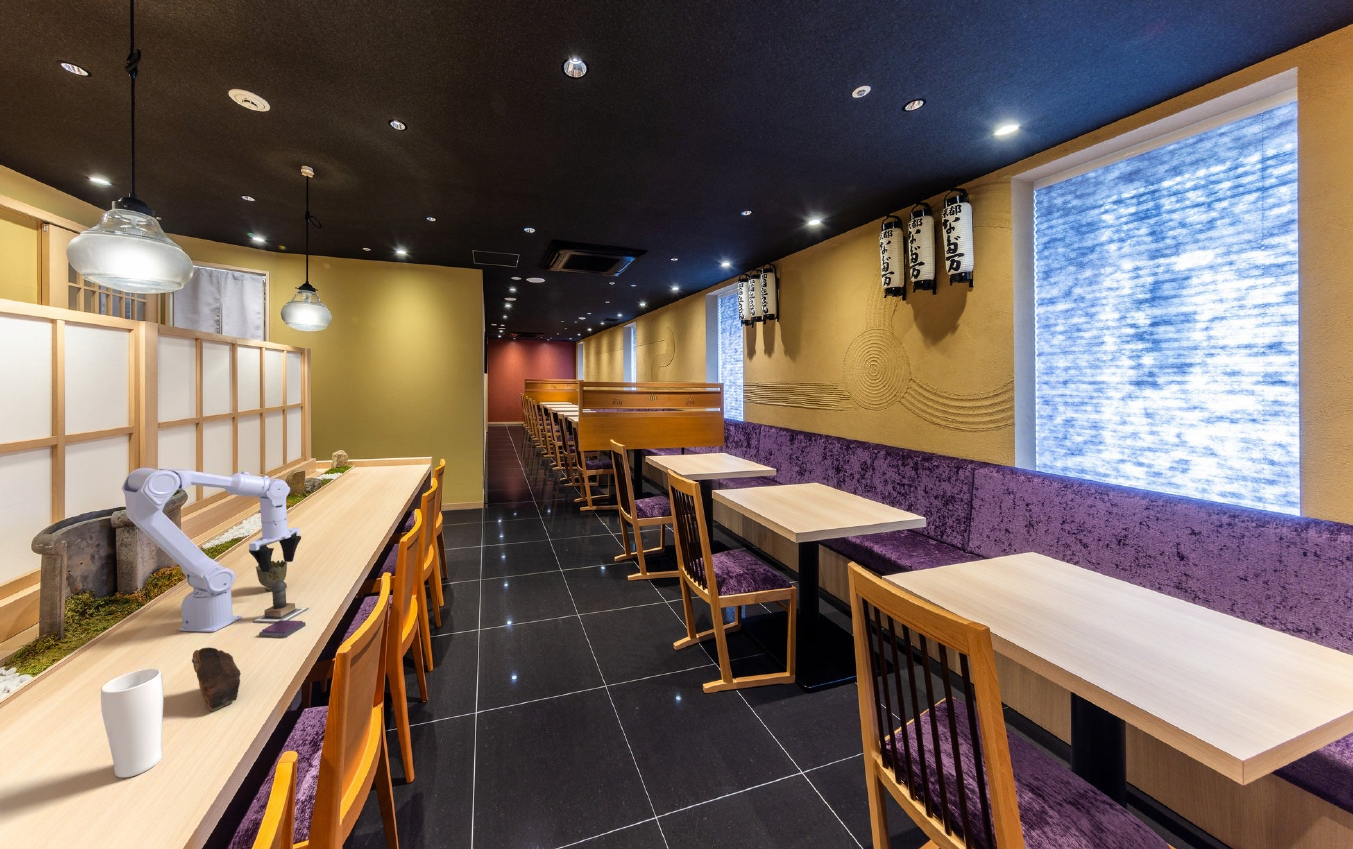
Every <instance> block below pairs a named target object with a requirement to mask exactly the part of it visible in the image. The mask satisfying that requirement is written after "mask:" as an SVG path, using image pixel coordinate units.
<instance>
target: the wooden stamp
mask: <svg viewBox="0 0 1353 849" xmlns="http://www.w3.org/2000/svg"><path fill="white" fill-rule="evenodd" d="M286 589H287V583H286V581H285V580H284V581H277V582H275V583H273V584H272V586H271V591H270V592H271V593H272V594H271V595H272V606H269V607H268V608H266V609H264V615H265V618H271V619H282V618H284V617H286V616H287V615H289V614H291V613H293V612H295V611H296V610H295V607H296V603H294V602H291V603H290V602H287V594H286V593H287V590H286Z"/></svg>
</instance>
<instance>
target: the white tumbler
mask: <svg viewBox="0 0 1353 849" xmlns="http://www.w3.org/2000/svg"><path fill="white" fill-rule="evenodd" d="M163 681H164V680H163V675H162V670H160V669H159V668H143V669H139V670H134V671H131V672H128V673H125V674H122V675H119V676H117V677H114V678H113V679H111V680H109V681H108V682H106V683H104V684H103V685H102V687H101V688H100V707H101V708H100V709H101V716H102V720H103V724H104V728H105V733H106V736H107V741H108V745H109V749H110V754H111V758H112V759H111V760H112V762H113V770H114V775H115V776H116V777H117V778H123V779H124V778H131V777H134V776H137V775H141V774H143V773H145V772H146V771H149V770H151V769H152V768H154V767H155V766H156V765H157V764H158V763H159V762H160V761H161V760H162V758H163V725H164V724H163V723H164V722H163V721H164V720H163V719H164V701H165V700H164V698H165V697H164V682H163Z"/></svg>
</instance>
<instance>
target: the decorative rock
mask: <svg viewBox="0 0 1353 849" xmlns="http://www.w3.org/2000/svg"><path fill="white" fill-rule="evenodd" d="M191 663H192V665H193V669H194V672H195V673H196V678H197V681H198V686H199V689H200V692H201V696H202V698H203V701H204V704H205V707H206V709H207V710H209V711H211V712H216V711H218V710H219V709H222V708H224V707H225V706H227V705H230V704H231V703H233V702H235V701H236V700H237V698H238V695H239V694H238V693H239V688H240V685H241V684H240V683H241V679H240V678H241V671H240V669H239V667H238V665H237V664H236V663H235V660H234V656H232V654H230V653H229V652H226V651H224V650H221V649H219V650H218V648H214V647H202V648H200V649H195V650H194V652H193V654H192V658H191Z"/></svg>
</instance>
